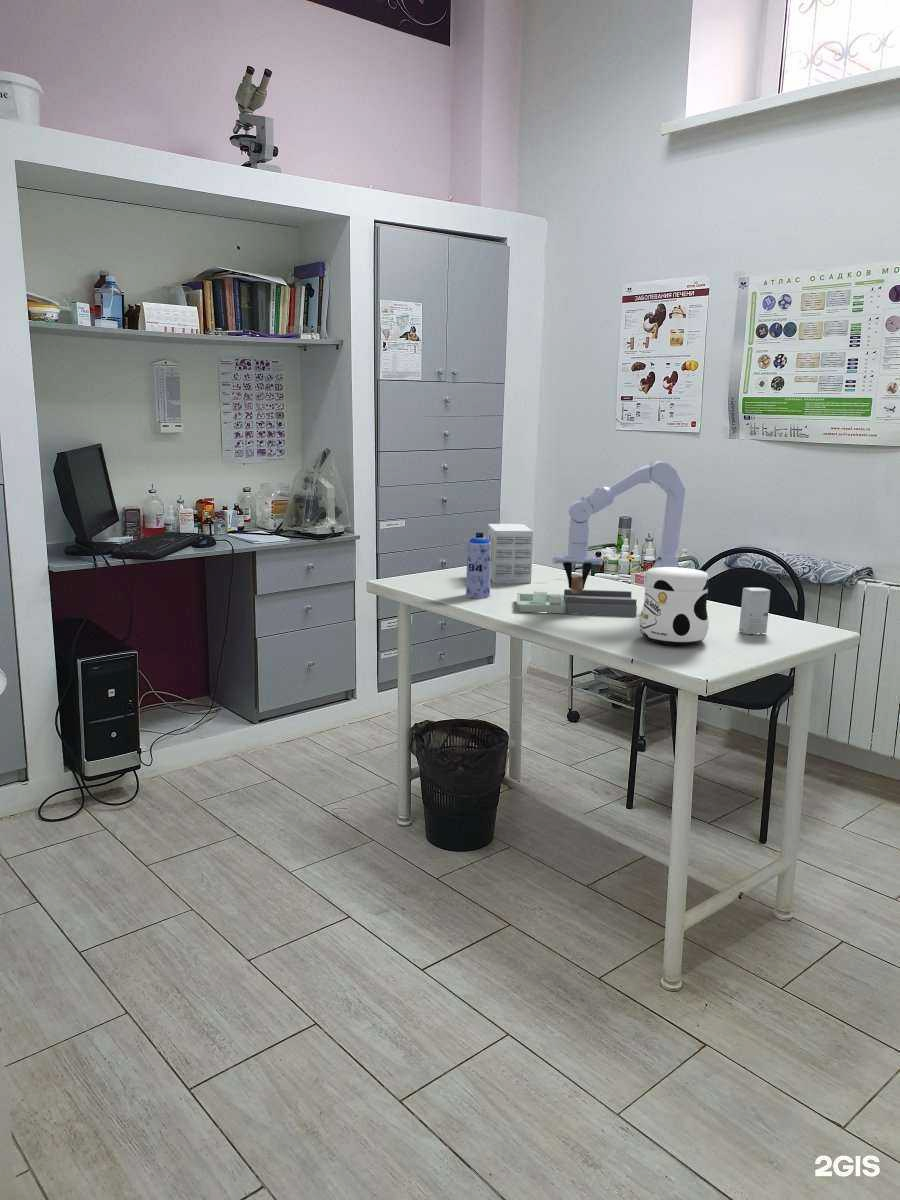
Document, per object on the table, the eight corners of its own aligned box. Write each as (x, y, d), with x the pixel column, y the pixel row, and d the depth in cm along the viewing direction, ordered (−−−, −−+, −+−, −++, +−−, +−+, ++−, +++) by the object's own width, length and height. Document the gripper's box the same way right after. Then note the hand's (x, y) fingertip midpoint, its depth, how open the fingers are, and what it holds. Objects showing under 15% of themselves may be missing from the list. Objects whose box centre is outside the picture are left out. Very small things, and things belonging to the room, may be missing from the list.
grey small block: (534, 591, 276) (533, 601, 276) (532, 594, 272) (532, 604, 272) (547, 592, 275) (546, 602, 276) (546, 594, 271) (545, 604, 272)
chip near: (559, 594, 268) (549, 593, 268) (560, 597, 264) (550, 596, 264) (559, 607, 268) (549, 607, 268) (560, 610, 264) (549, 610, 265)
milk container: (625, 639, 235) (629, 571, 231) (661, 629, 247) (666, 563, 243) (683, 653, 223) (689, 581, 219) (719, 641, 235) (725, 573, 231)
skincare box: (746, 635, 242) (750, 590, 239) (737, 631, 246) (741, 587, 244) (767, 634, 243) (771, 590, 241) (758, 630, 248) (762, 586, 245)
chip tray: (562, 602, 278) (563, 594, 277) (565, 614, 262) (566, 606, 262) (516, 600, 279) (517, 593, 278) (517, 612, 263) (517, 604, 262)
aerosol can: (461, 597, 283) (463, 533, 278) (470, 592, 290) (472, 530, 286) (485, 599, 280) (487, 535, 276) (493, 594, 287) (495, 531, 283)
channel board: (629, 605, 276) (630, 590, 275) (636, 616, 261) (637, 600, 261) (563, 602, 277) (564, 588, 276) (566, 613, 263) (567, 598, 262)
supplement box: (485, 574, 322) (487, 523, 318) (522, 574, 323) (524, 523, 319) (493, 583, 305) (494, 530, 301) (532, 583, 306) (534, 530, 303)
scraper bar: (580, 587, 273) (580, 574, 272) (582, 593, 264) (583, 580, 263) (570, 587, 273) (570, 573, 272) (572, 593, 264) (572, 579, 263)
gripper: (602, 541, 269) (599, 586, 272) (552, 539, 270) (551, 584, 273) (604, 544, 262) (602, 590, 265) (554, 543, 263) (552, 589, 266)
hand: (576, 588), depth 268 cm, fingers closed on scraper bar, 3 cm apart
